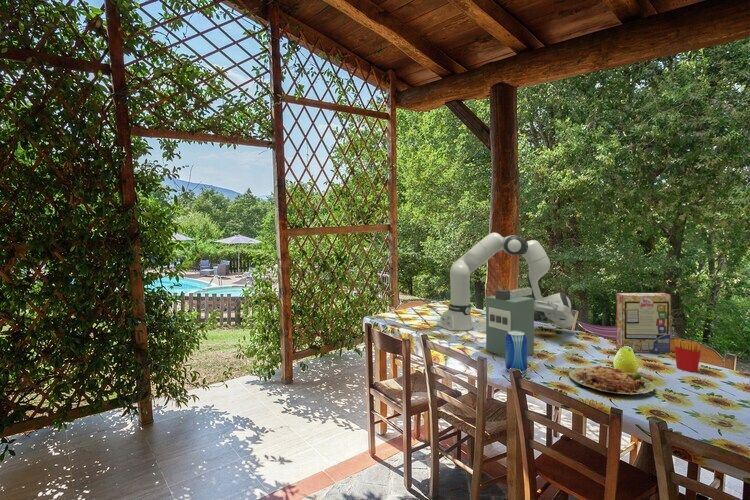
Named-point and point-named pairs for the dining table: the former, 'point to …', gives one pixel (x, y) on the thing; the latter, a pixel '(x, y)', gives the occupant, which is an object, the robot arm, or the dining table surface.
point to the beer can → (516, 351)
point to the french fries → (687, 355)
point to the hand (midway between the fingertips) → (540, 301)
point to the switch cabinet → (508, 322)
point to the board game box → (643, 322)
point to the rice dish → (611, 380)
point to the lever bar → (512, 293)
